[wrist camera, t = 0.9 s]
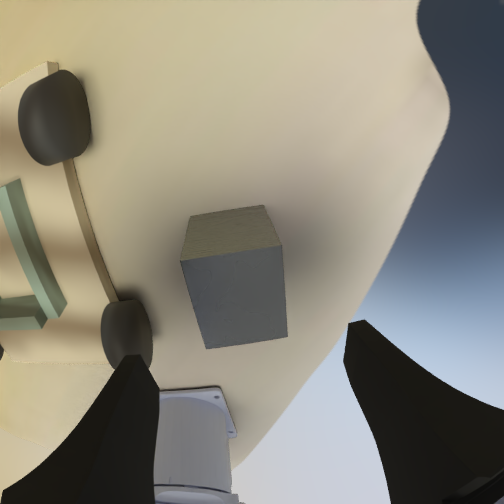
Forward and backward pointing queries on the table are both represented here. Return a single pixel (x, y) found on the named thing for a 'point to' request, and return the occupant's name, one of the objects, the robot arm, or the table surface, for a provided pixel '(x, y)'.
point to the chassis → (55, 235)
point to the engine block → (235, 277)
